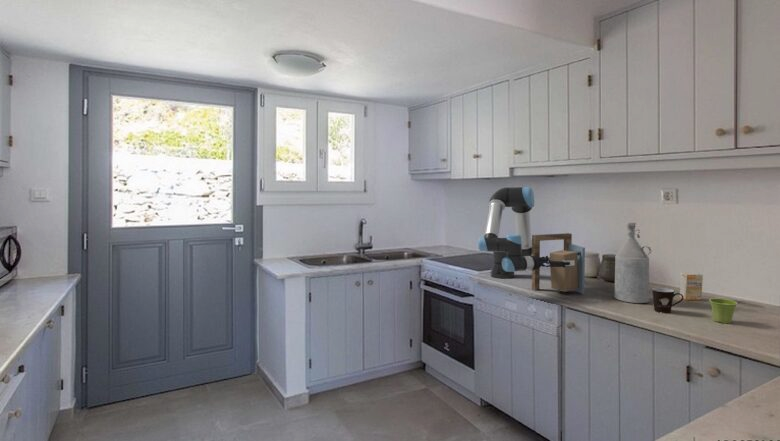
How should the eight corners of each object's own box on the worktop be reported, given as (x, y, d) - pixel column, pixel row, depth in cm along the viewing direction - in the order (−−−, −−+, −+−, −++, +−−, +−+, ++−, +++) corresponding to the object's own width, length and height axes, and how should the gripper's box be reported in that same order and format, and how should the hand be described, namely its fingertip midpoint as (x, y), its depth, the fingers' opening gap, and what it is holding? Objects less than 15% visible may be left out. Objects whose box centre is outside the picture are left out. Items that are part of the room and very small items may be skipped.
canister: (641, 306, 206) (643, 224, 203) (608, 298, 221) (609, 221, 218) (656, 302, 212) (659, 222, 209) (623, 295, 227) (625, 220, 224)
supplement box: (685, 300, 215) (686, 274, 214) (679, 298, 219) (680, 272, 218) (702, 300, 214) (703, 274, 213) (695, 297, 219) (696, 272, 218)
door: (564, 287, 245) (565, 243, 244) (569, 286, 246) (570, 243, 244) (578, 294, 229) (579, 247, 227) (584, 293, 229) (584, 247, 227)
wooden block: (551, 288, 235) (549, 252, 234) (563, 285, 240) (562, 250, 238) (565, 292, 226) (564, 254, 225) (578, 288, 231) (577, 251, 229)
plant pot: (741, 325, 176) (742, 304, 175) (716, 324, 177) (717, 303, 177) (728, 318, 185) (728, 298, 184) (703, 317, 187) (704, 298, 186)
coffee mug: (649, 311, 197) (649, 290, 197) (654, 307, 203) (654, 286, 203) (678, 316, 189) (679, 294, 188) (683, 312, 195) (684, 290, 194)
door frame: (531, 289, 244) (532, 235, 242) (567, 286, 250) (568, 233, 247) (534, 290, 241) (535, 235, 239) (571, 287, 247) (571, 233, 244)
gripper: (518, 266, 239) (553, 263, 244) (543, 274, 216) (581, 271, 221) (518, 252, 239) (553, 250, 244) (543, 259, 215) (581, 257, 220)
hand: (566, 260), depth 232 cm, fingers open, 12 cm apart
